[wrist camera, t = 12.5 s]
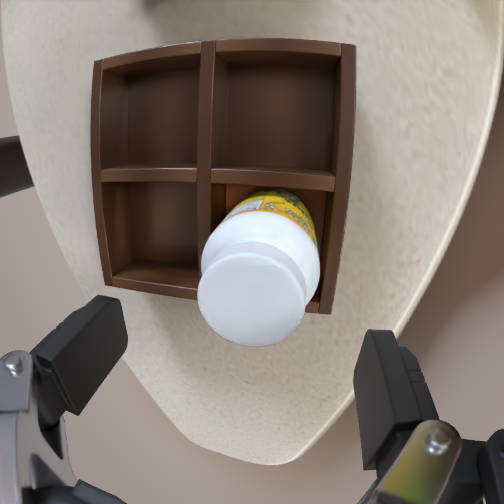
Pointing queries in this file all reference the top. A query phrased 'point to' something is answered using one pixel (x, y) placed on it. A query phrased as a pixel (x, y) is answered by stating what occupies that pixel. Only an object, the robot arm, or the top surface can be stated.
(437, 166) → the top surface
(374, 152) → the top surface
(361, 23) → the top surface
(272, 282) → the supplement bottle
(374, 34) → the top surface
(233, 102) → the compartment tray
